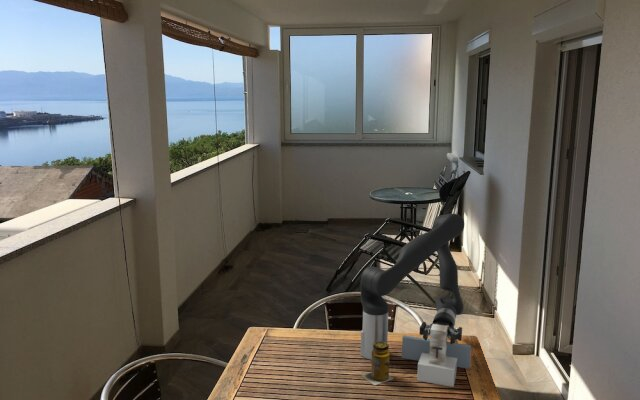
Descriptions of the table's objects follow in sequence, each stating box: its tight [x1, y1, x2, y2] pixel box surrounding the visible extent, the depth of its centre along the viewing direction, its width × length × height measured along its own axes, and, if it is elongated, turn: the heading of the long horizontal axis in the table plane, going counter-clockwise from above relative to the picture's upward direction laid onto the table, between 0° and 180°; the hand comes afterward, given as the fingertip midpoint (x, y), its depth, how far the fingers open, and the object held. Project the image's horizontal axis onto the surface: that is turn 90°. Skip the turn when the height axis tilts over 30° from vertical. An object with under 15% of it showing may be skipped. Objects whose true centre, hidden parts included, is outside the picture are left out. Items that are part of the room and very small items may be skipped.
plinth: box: [416, 353, 458, 388], centre depth 184 cm, size 12×9×6 cm
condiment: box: [361, 342, 395, 386], centre depth 183 cm, size 7×8×12 cm
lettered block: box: [429, 323, 448, 366], centre depth 182 cm, size 5×5×12 cm
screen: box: [401, 334, 472, 369], centre depth 195 cm, size 24×2×8 cm, turn 71°
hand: (438, 339), depth 181 cm, fingers open, 8 cm apart
